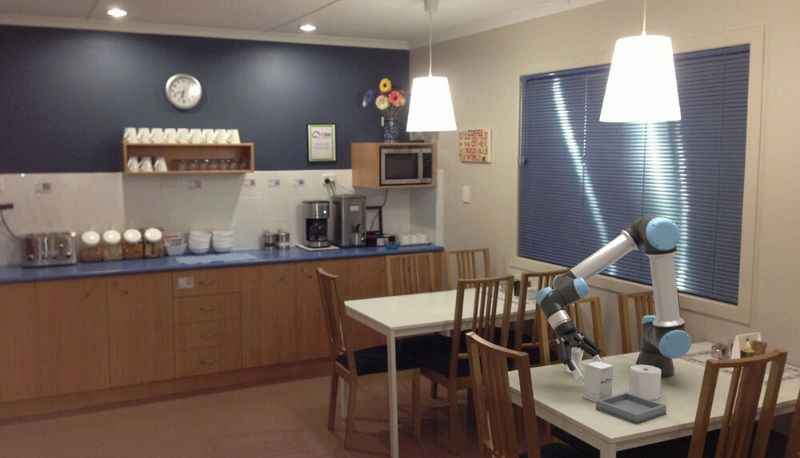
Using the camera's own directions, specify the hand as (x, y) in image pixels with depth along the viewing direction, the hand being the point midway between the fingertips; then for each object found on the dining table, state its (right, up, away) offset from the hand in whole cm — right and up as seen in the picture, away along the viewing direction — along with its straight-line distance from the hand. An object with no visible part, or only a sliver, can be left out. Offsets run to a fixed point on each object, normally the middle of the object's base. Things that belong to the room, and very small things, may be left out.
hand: (592, 375), depth 262 cm
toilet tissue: (+20, -9, +4) cm, 22 cm away
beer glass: (+1, -5, +31) cm, 32 cm away
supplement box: (+2, -9, 0) cm, 9 cm away
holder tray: (+10, -10, -13) cm, 19 cm away
